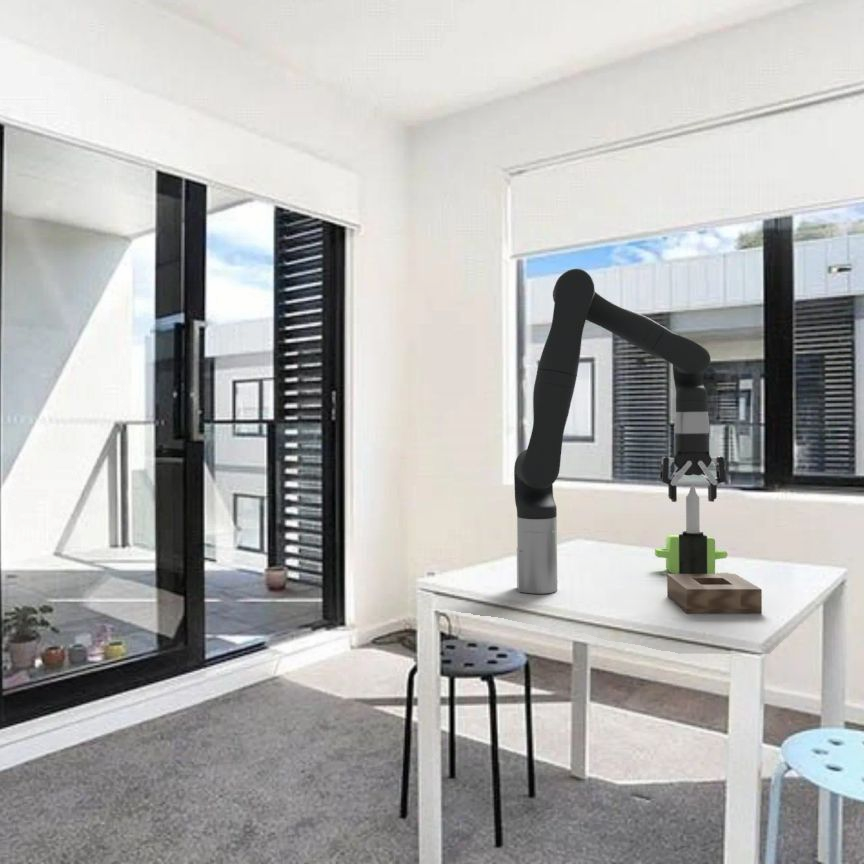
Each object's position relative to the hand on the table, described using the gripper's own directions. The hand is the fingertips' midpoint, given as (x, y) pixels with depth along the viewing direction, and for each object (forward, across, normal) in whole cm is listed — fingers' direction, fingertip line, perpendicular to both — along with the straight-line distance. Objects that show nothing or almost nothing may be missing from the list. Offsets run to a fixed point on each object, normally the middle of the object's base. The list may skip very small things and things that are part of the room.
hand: (692, 501), depth 172 cm
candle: (+21, 0, 0) cm, 21 cm away
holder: (+21, 0, -14) cm, 25 cm away
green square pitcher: (+21, +6, +21) cm, 30 cm away
